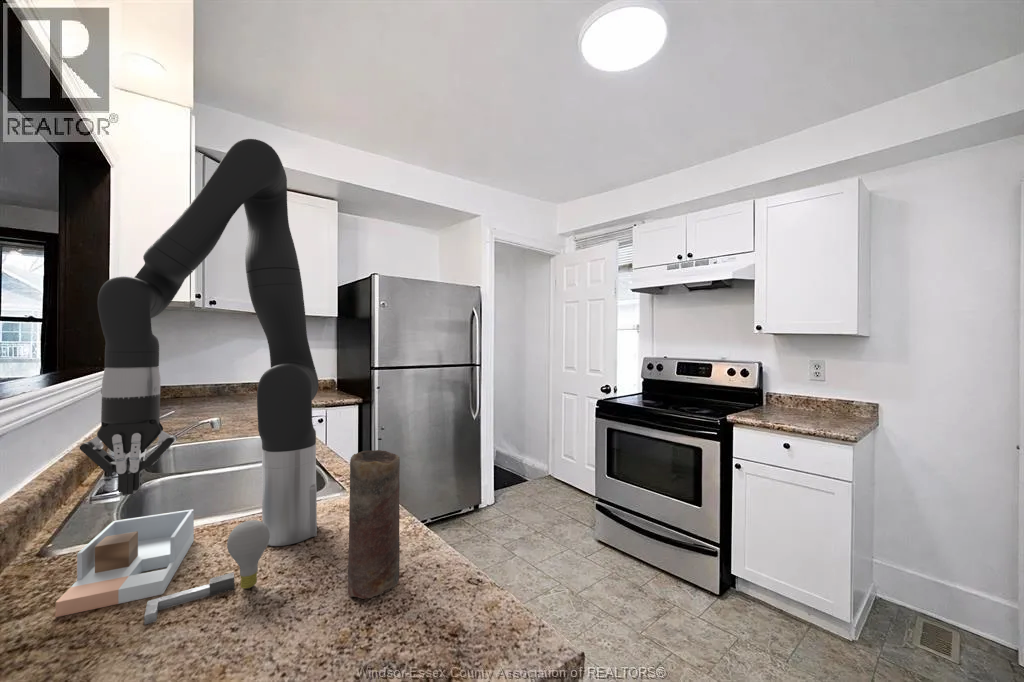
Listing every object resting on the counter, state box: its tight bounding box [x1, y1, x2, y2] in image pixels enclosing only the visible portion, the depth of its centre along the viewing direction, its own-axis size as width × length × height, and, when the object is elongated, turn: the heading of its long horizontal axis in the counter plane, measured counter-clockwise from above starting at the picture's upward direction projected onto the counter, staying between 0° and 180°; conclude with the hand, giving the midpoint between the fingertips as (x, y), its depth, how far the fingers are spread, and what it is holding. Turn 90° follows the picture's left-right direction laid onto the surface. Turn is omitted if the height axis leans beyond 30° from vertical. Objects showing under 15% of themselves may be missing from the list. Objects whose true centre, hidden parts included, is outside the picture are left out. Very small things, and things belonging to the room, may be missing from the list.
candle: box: [347, 449, 401, 600], centre depth 63 cm, size 8×7×20 cm
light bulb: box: [226, 519, 270, 590], centre depth 63 cm, size 5×6×10 cm
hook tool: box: [143, 572, 235, 626], centre depth 60 cm, size 10×4×2 cm, turn 126°
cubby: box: [54, 508, 195, 618], centre depth 68 cm, size 12×19×6 cm, turn 26°
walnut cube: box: [95, 531, 138, 573], centre depth 67 cm, size 4×4×4 cm
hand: (129, 493), depth 72 cm, fingers closed
